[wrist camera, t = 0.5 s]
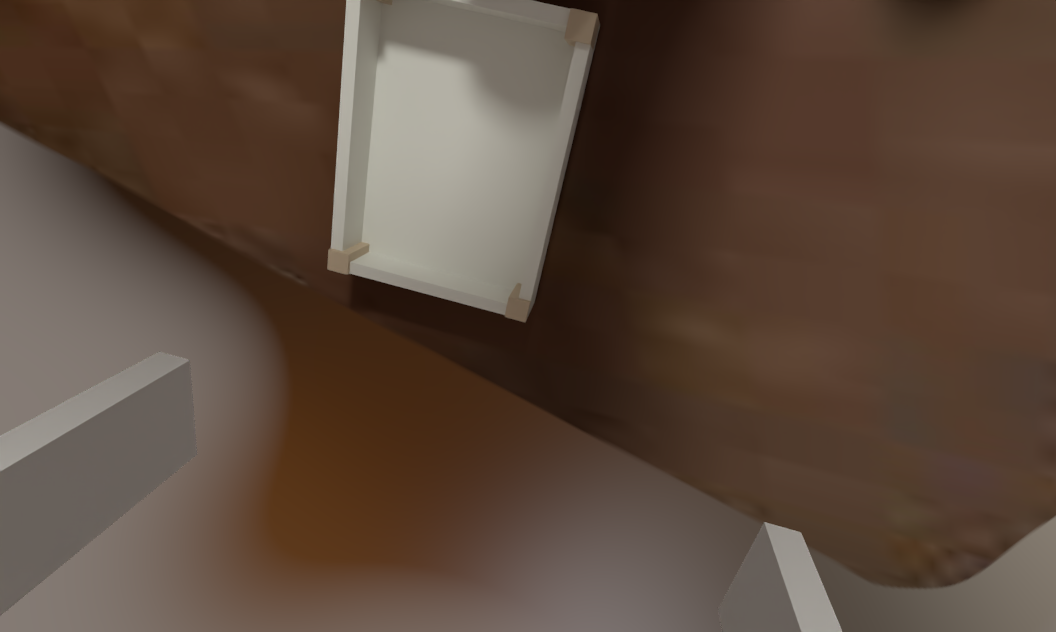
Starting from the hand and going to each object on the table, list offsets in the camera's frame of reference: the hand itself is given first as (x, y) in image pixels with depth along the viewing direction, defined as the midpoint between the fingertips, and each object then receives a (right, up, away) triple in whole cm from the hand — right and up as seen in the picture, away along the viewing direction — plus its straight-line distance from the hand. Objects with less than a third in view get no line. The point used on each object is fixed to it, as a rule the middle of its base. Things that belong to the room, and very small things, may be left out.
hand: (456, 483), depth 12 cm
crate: (-3, +14, +22) cm, 26 cm away
